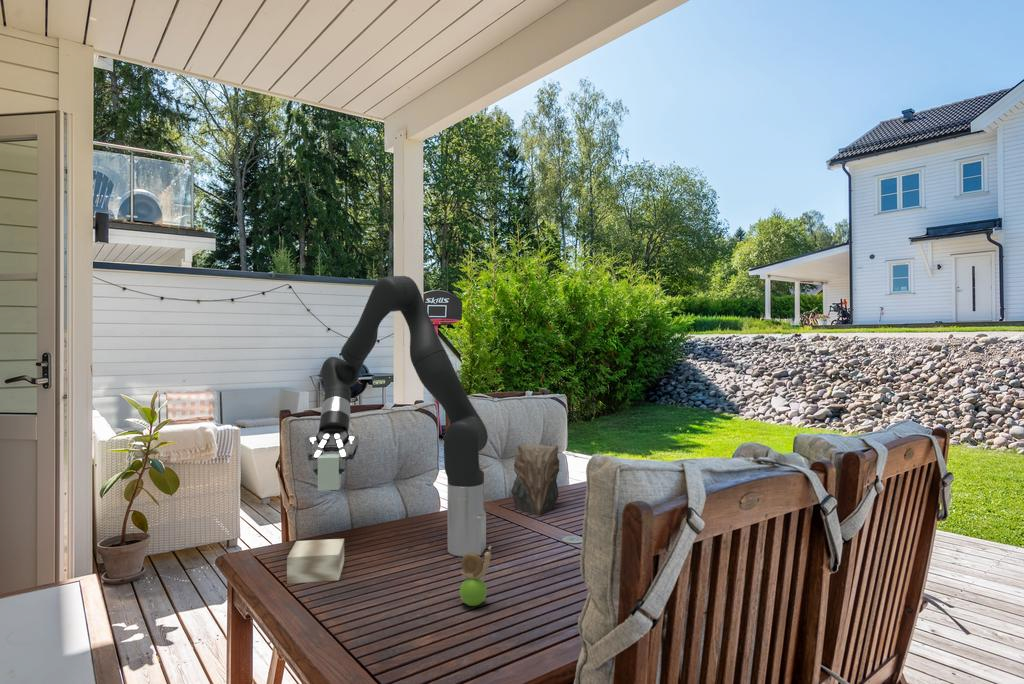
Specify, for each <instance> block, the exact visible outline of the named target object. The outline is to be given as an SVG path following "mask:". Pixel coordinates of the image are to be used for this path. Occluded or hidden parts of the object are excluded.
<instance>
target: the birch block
mask: <svg viewBox="0 0 1024 684" xmlns="http://www.w3.org/2000/svg"><path fill="white" fill-rule="evenodd" d="M292 546H293V547H292V548H291V550H290V551H289V554H288V555H287V557H286V584H287V585H288V584H304V583H319V582H320V583H321V582H322V583H323V582H333V581H340V578H341V575H342V571H343V568H344V564H345V538H330V539H329V538H328V539H312V540H310V539H309V540H296V541H295V543H294V545H292Z"/></svg>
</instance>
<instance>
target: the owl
mask: <svg viewBox="0 0 1024 684" xmlns="http://www.w3.org/2000/svg"><path fill="white" fill-rule="evenodd" d="M558 447H559V446H558V445H548V444H545V443H538V444H536V445H535V444H532V445H527V444H517V450H518V452H517V455H516V457H515V458H514V463H513V470H514V472H515V474H516V477H515V480H514V481H513V486H512V488H511V491H510V492H511V495H512V498H513V503H514V506H515V507H514V509H515V510H518V511H521V512H524V513H527V514H530V515H534V516H540V517H541V516H542V515H545V514H547V513H548V512H550V511H552V510H554V509H556V504H557V500H558V498H559V487H558V483H557V480H558V479H557V478H558V474H559V472H560V459H559V457H558V454H559V448H558Z"/></svg>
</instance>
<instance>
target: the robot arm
mask: <svg viewBox="0 0 1024 684" xmlns="http://www.w3.org/2000/svg"><path fill="white" fill-rule="evenodd" d="M420 291H421V290H420V289H419V286H418V284H417V283H416V282H415V281H414V279H412V278H411V277H410V276H406V275H391V276H390V275H389V276H384V277H381V278H380V279H378V280H377V282H376V283H375V284H374V286H373V288H372V290H371V292H370V295H369V297H368V299H367V302H366V303H365V305H364V306H365V307H364V309H363V310H362V313H361V316H360V317H359V320H358V322H357V324H356V326H355V328H354V329H353V331H352V332H351V334H350V336H349V337H348V339H347V340H346V341H345V343H344V344H343V346H341V350H340V355H341V358H339V357H336V356H330V357H328V358H326V359H325V360H324V362H323V364H322V366H321V371H320V372H321V380H322V384H323V387H324V399H323V405H322V408H321V411H320V412H321V413H320V419H319V426H318V432H317V433H316V436H314V437H310V436H305V437H304V443H305V449H306V456H307V460H308V461H309V462H310V461H313V463H312V471H313V473H315V475H317V476H318V457H319V456H320V455H321V454H327V452H328V453H329V452H334V453H336V452H338V454H340V455H341V457H340V461H339V474H341V475H342V474H343V473H344V472H345V471H346V465H347V461H349V460H350V461H351V460H352V461H353V460H354V458H355V455H356V454H357V451H358V448H359V445H360V436H359V435H355V436H350V434H349V431H350V430H349V429H350V420H351V401H352V399H351V398H352V390H351V387H353V386H355V385H356V384H357V382H358V381H359V379H360V375H361V370H362V367H363V365H364V362H365V360H366V358H367V357H368V356H369V354H370V353H371V352H372V350H373V349H374V347H375V345H376V343H377V340H378V336H379V335H378V334H379V326H380V324H381V323H382V321H383V320H384V319H385V317H386V316H388V315H389V314H390V313H392V312H400V313H401V315H402V316H403V318H404V320H405V322H406V325H407V326H408V331H409V337H410V338H409V339H410V341H409V358H410V362H411V364H412V366H413V369H414V370H415V372H416V374H417V376H418V379H419V380H420V382H421V384H422V385H423V386H424V387H425V389H426V390H427V391H428V392H429V394H430V395H431V396H432V397H433V398H434V399H435V400H436V401H437V402H438V403H439V404H440V406H441V407H442V408H443V410H444V412H445V414H446V415H447V417H448V421H449V422H450V425H448V426H447V428H446V430H445V431H444V437H443V459H444V460H443V461H444V470H445V474H446V476H447V541H446V542H447V543H446V544H447V553H449V554H450V555H452V556H456V557H464V556H465V555H466V554H468V553H475V554H477V555H479V556H482V554H484V553H483V552H484V551H485V550H486V548H487V511H486V510H485V473H484V471H483V470H482V469H481V467H480V461H479V459H480V458H479V455H480V454H479V452H481V451H482V450H484V448H485V447H486V445H487V443H488V438H489V437H488V434H489V433H488V430H487V427H486V425H485V423H484V422H483V420H482V419H481V417H480V415H479V414H478V411H476V409H475V407H474V406H473V404H472V403H471V401H470V399H469V397H468V395H467V393H466V391H465V390H464V387H463V385H462V383H461V380H460V378H459V376H458V374H457V372H456V370H455V368H454V365H453V363H452V361H451V359H450V356H449V355H448V353H447V351H446V349H445V347H444V345H443V343H442V341H441V339H440V337H439V336H438V333H437V331H436V328H435V327H434V325H433V321H432V320H431V317H430V316H429V313H428V310H427V307H426V305H425V302H424V299H423V297H422V294H421V292H420ZM315 443H317V444H318V446H317V450H316V451H315V452H313V449H312V448H313V447H314V446H315ZM348 443H349V444H350V446H349V449H348V452H346V451H345V449H344V447H345V446H346V445H347V444H348Z"/></svg>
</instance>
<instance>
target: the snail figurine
mask: <svg viewBox="0 0 1024 684" xmlns="http://www.w3.org/2000/svg"><path fill="white" fill-rule="evenodd" d="M487 549H488V550H489V551H485V552H484V553H483V554H484V561H483V560H482V559H483V558H481V555H477V554H475V553H468V554H466V555H465V556H462V559H461V567H462V569H463V570H464V571H460V572H461V575H462V576H464V578H466V579H465V580H464V581H463V582H462V583H461V585H460V588H459V596H460V599H461V601H462V602H463V603H464V604H466V605H467V606H469V607H476V606H479V605H481V604H483V602H484V601H485V599H486V597H487V595H488V594H487V593H488V588H487V585H486V583H485V582H484V580H482V578H483V577H484V576H485V575H486V574H487V572H488V570H489V566H490V562H491V558H492V551H491V549H492V546H491V545H489V546H488V548H487Z"/></svg>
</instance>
